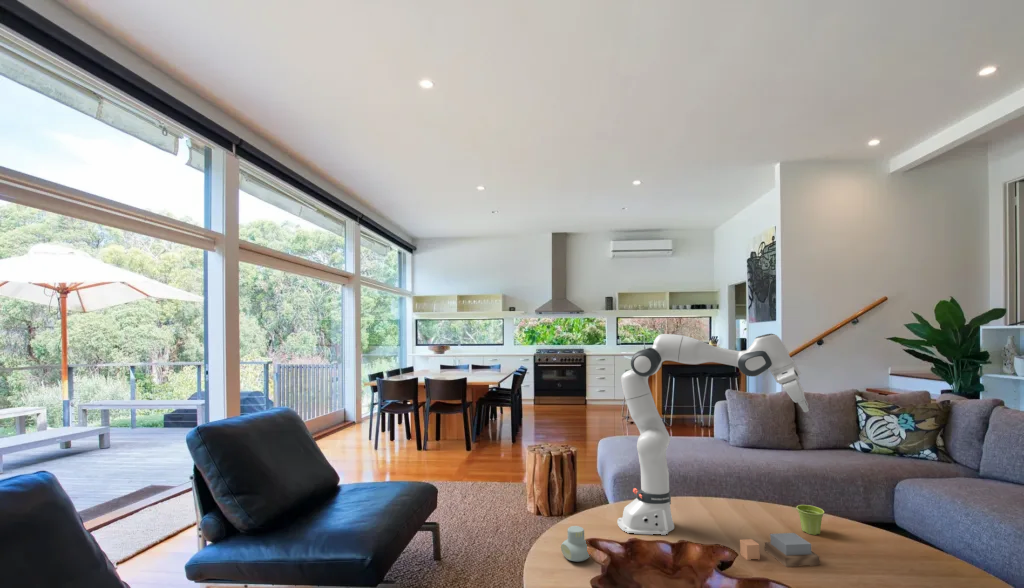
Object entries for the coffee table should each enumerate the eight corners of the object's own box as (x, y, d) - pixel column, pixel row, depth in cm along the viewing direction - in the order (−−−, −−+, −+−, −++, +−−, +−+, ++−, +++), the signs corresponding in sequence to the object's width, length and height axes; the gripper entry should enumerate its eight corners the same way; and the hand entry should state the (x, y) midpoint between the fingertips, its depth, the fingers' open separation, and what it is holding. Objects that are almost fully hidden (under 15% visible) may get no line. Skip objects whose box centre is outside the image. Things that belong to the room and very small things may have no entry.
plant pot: (823, 529, 194) (822, 506, 195) (827, 538, 186) (826, 515, 186) (796, 525, 198) (795, 503, 199) (798, 534, 190) (797, 511, 190)
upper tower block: (786, 555, 167) (785, 544, 167) (770, 543, 176) (770, 533, 176) (811, 554, 168) (811, 543, 168) (794, 542, 177) (794, 532, 177)
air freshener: (558, 553, 176) (558, 525, 177) (578, 549, 179) (577, 521, 180) (574, 567, 166) (573, 537, 167) (594, 562, 169) (594, 532, 170)
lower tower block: (786, 568, 165) (785, 557, 165) (765, 552, 177) (764, 542, 177) (819, 566, 166) (819, 556, 166) (796, 550, 178) (796, 540, 178)
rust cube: (747, 560, 170) (746, 545, 170) (740, 554, 175) (739, 539, 175) (759, 559, 170) (759, 544, 171) (752, 553, 175) (751, 539, 175)
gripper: (778, 373, 192) (797, 406, 189) (777, 380, 174) (797, 417, 171) (795, 367, 189) (814, 400, 186) (795, 373, 172) (816, 411, 168)
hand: (806, 408), depth 178 cm, fingers open, 8 cm apart
